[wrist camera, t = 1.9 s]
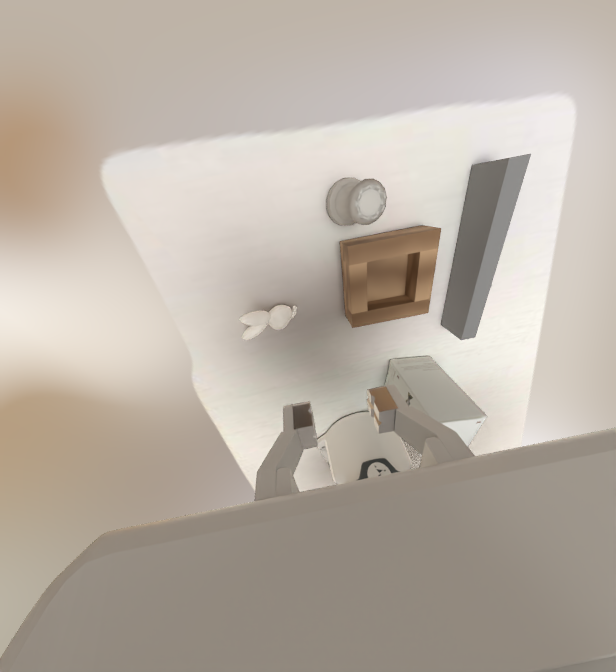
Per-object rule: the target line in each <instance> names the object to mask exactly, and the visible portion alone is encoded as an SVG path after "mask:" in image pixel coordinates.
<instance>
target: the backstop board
mask: <svg viewBox="0 0 616 672" xmlns="http://www.w3.org/2000/svg"><path fill="white" fill-rule="evenodd" d="M530 156H531V154H527V155H522V156H516V157H511V158H506V159H501V160H496V161H491V162H486V163H480V164H475V165H472V168H471V173H470V178H469V183H468V188H467V193H466V198H465V204H464V209H463V214H462V219H461V224H460V229H459V234H458V239H457V245H456V250H455V255H454V260H453V265H452V270H451V275H450V280H449V285H448V291H447V296H446V301H445V306H444V311H443V316H442V321H441V325H442V326H443V327H445V328H446V329H447V330H449V331H450V332H451V333H453V334H454V335H455V336H456V337H458V338H459V339H460V340H464V339H469V338H474V337H475V336H476V333H477V330H478V326H479V323H480V320H481V316H482V313H483V310H484V307H485V303H486V300H487V297H488V294H489V290H490V287H491V284H492V280H493V277H494V274H495V271H496V267H497V264H498V261H499V257H500V254H501V251H502V248H503V244H504V241H505V238H506V234H507V231H508V228H509V225H510V221H511V218H512V215H513V212H514V208H515V205H516V202H517V198H518V195H519V192H520V189H521V185H522V182H523V179H524V175H525V172H526V169H527V166H528V162H529V159H530Z"/></svg>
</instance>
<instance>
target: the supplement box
mask: <svg viewBox="0 0 616 672" xmlns="http://www.w3.org/2000/svg"><path fill="white" fill-rule="evenodd" d="M391 384H394V385H395V386H396V387H397V389H398V391H399V392H400V394H401V395H402V397H403V398H404V400H405V401H406V403H407V405H408V406H409V407H410V406H412V407H414V408H416V409H417V410H419V411H421V412H422V413H424V414H426V415H428V416H429V417H431V418H433V419H435V420H436V421H438V422H440V423H442V424H443V425H445V426H447V427H449V428H450V429H452V430H454V431H455V432H457V434H458V435H459V436H460V437H461V439H462V440H463V441H464V443H465V444H466V445H467V447H468V446H469V444H470V443H471V441H472V440H473V438H474V436H475V435H476V434H477V432H478V430H479V429H480V427H481V425H482V424H483V422H484V421H485V419H486V418H487V415H486V414H485V413H484V412H483V411H482V410H481V409H480V408H479V407H478V406H477V405H476V404H475V403H474V402H473V401H472V400H471V399H470V397H469V396H468V395H467V394H466V393H465V392H464V391H463V390H462V389H461V388H460V387H459V386H458V385H457V384H456V383H455V382H454V381H453V380H452V379H451V378H450V377H449V376H448V375H447V374H446V373H445V371H444V370H443V369H442V368H441V367H440V366H439V365H438V364H437V363H436V362H435V361H434V360H433V359H432V358H431V357H430V356H422V357H411V358H400V359H391V360H390V364H389V369H388V374H387V378H386V382H385V386H386V385H391ZM417 452H418V451H417ZM418 454H419V455H421V454H420V453H419V452H418Z"/></svg>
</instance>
